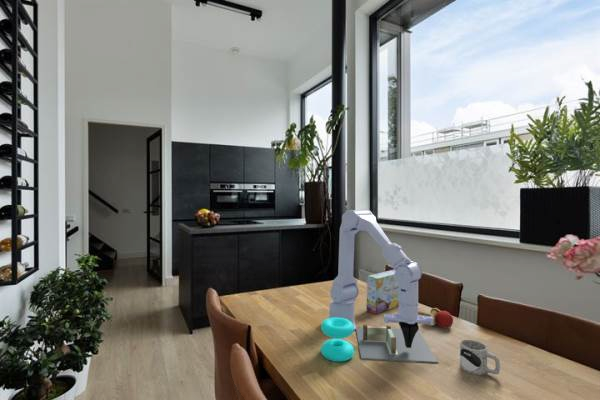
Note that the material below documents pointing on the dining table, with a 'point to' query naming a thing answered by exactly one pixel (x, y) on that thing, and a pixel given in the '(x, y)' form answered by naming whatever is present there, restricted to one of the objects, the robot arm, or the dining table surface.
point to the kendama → (439, 317)
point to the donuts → (337, 347)
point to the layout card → (383, 352)
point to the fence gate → (391, 341)
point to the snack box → (382, 292)
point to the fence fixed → (375, 333)
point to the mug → (476, 358)
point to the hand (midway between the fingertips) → (408, 346)
